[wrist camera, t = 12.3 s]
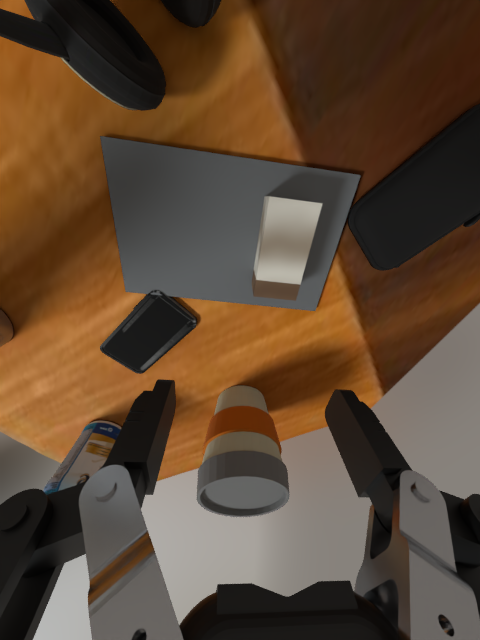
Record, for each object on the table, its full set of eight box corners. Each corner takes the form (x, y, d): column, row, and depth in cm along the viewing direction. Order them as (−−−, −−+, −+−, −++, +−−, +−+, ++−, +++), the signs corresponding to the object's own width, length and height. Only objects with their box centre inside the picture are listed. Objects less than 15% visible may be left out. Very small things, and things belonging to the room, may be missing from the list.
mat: (127, 289, 29) (125, 291, 28) (103, 137, 21) (100, 136, 20) (313, 309, 30) (315, 311, 30) (358, 175, 22) (360, 175, 22)
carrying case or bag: (374, 279, 29) (500, 195, 24) (389, 287, 26) (532, 194, 21) (336, 213, 25) (477, 95, 20) (348, 215, 22) (514, 80, 17)
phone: (199, 323, 31) (140, 375, 36) (200, 319, 32) (142, 371, 37) (154, 286, 28) (96, 349, 33) (156, 283, 29) (100, 344, 34)
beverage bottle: (79, 418, 42) (-30, 571, 25) (121, 418, 42) (42, 570, 25) (93, 442, 47) (9, 587, 29) (132, 442, 47) (70, 586, 29)
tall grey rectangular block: (264, 196, 23) (269, 196, 19) (309, 202, 23) (322, 203, 20) (251, 283, 28) (253, 296, 24) (288, 287, 28) (296, 300, 25)
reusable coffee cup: (281, 413, 42) (301, 509, 29) (223, 427, 44) (218, 522, 32) (262, 370, 36) (276, 466, 23) (196, 389, 38) (176, 486, 26)
